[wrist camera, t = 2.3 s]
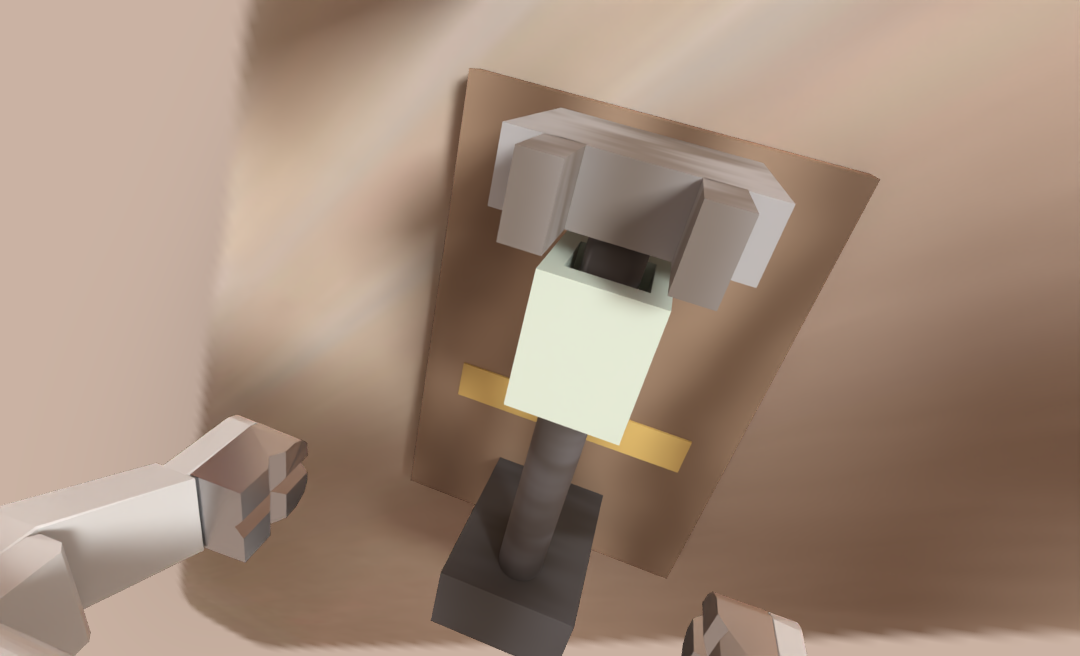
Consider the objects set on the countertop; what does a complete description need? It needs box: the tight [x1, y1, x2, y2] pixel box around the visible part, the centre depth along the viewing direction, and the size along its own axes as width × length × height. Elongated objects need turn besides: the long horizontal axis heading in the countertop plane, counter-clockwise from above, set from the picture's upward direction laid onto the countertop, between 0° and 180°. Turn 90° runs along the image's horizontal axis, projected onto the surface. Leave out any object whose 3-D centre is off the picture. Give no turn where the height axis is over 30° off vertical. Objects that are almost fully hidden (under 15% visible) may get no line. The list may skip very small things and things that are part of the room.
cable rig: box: [411, 68, 880, 656], centre depth 22 cm, size 16×23×11 cm
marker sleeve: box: [504, 230, 673, 445], centre depth 18 cm, size 4×5×4 cm
